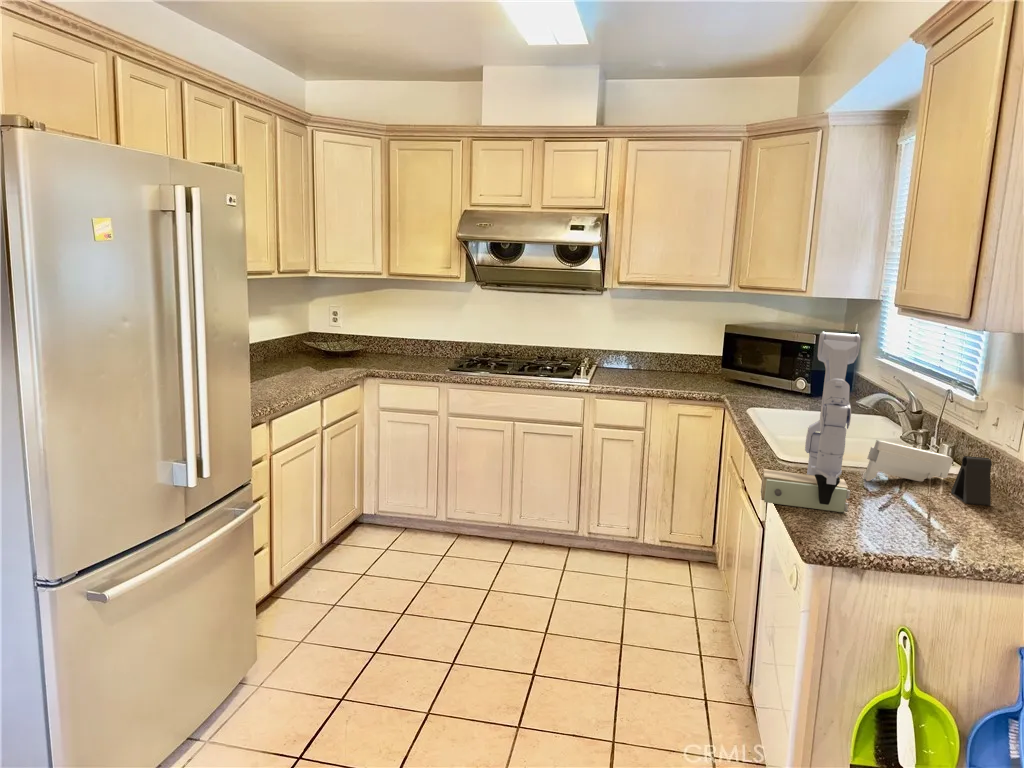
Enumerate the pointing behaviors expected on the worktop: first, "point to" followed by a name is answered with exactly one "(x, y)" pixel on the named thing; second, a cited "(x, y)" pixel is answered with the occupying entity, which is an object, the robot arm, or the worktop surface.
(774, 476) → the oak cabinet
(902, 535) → the worktop surface
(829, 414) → the robot arm
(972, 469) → the door stopper
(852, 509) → the worktop surface
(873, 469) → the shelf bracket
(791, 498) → the cabinet door
